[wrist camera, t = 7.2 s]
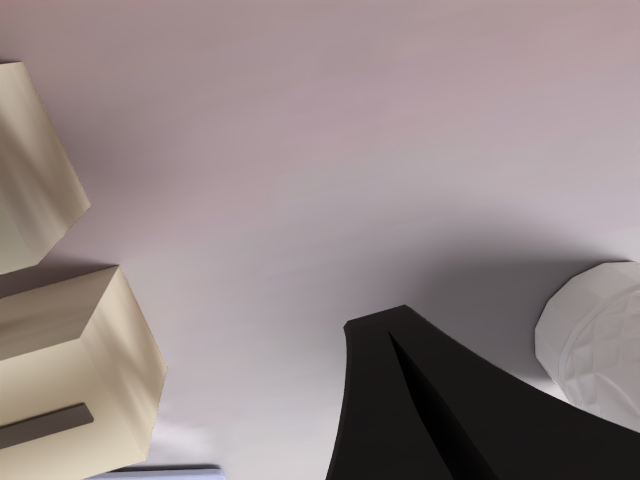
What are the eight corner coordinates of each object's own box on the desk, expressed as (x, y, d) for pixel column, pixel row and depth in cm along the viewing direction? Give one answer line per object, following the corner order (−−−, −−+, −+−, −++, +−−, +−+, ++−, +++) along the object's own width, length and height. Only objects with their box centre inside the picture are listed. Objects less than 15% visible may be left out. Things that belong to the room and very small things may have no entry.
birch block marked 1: (167, 365, 20) (145, 463, 16) (48, 400, 20) (-11, 509, 16) (120, 263, 18) (77, 340, 14) (-13, 301, 18) (-103, 392, 14)
